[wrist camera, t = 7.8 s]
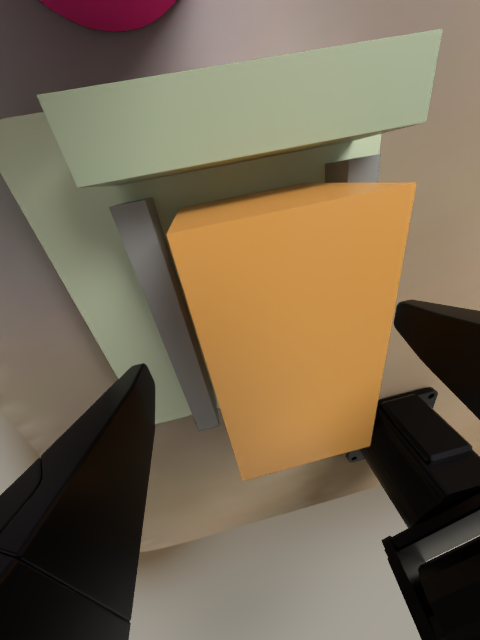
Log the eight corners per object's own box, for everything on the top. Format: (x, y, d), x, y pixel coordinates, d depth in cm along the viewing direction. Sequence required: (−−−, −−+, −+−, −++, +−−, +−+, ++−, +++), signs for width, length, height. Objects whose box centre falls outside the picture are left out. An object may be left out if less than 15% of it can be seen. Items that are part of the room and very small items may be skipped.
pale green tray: (342, 357, 15) (393, 416, 11) (149, 405, 14) (134, 486, 11) (359, 72, 9) (496, -17, 5) (8, 133, 8) (-170, 85, 4)
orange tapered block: (310, 373, 13) (366, 465, 9) (229, 394, 13) (247, 498, 9) (305, 182, 9) (417, 182, 4) (179, 207, 8) (166, 234, 4)
